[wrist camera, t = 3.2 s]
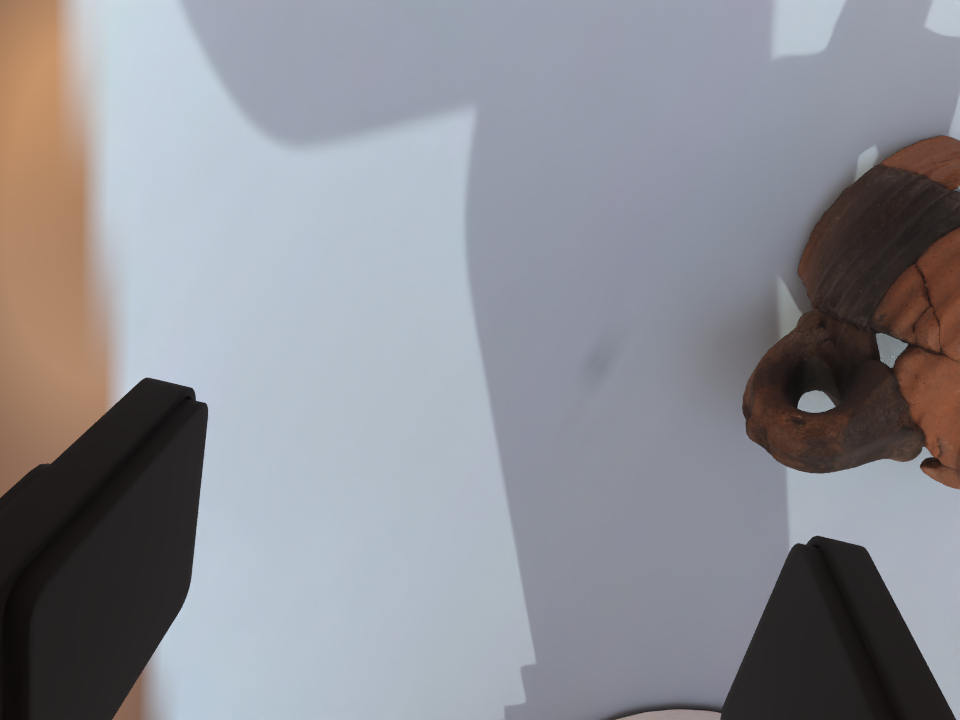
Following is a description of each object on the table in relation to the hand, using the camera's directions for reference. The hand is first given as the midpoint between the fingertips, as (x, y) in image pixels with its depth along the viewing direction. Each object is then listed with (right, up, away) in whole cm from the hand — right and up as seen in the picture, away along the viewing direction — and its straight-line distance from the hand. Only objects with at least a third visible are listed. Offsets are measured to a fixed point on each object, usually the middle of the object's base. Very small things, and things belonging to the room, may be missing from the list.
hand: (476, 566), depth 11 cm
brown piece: (+13, +4, +17) cm, 22 cm away
